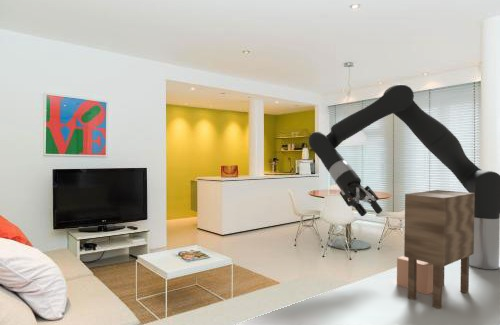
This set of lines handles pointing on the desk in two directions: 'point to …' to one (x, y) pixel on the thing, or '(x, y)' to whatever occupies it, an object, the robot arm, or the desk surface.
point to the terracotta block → (423, 275)
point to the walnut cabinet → (438, 236)
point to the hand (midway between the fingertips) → (372, 213)
